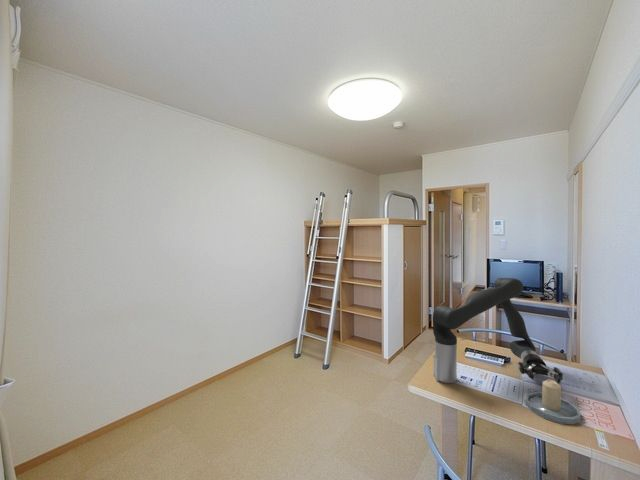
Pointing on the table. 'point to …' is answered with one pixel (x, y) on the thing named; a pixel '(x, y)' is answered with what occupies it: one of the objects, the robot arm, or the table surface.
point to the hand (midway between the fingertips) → (545, 379)
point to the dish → (564, 416)
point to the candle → (551, 395)
